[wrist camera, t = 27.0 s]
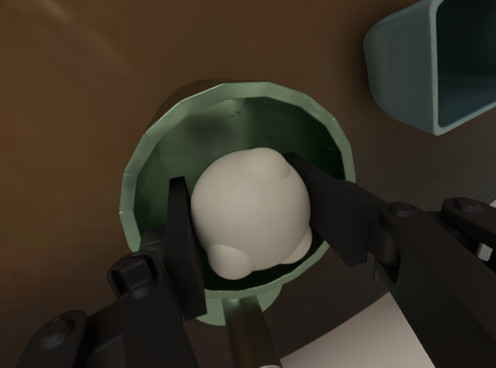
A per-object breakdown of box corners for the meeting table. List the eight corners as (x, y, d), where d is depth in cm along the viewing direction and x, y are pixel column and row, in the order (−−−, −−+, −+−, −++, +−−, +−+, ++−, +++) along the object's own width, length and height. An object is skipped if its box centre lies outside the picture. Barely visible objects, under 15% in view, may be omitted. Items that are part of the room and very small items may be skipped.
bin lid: (164, 270, 27) (155, 384, 17) (263, 223, 28) (311, 305, 18) (208, 330, 32) (222, 444, 22) (290, 290, 33) (338, 381, 23)
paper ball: (166, 172, 13) (159, 233, 8) (256, 117, 13) (306, 142, 8) (222, 243, 16) (243, 323, 11) (296, 197, 16) (353, 254, 11)
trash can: (124, 110, 20) (54, 152, 9) (250, 59, 21) (334, 37, 9) (186, 216, 25) (192, 329, 14) (284, 171, 26) (366, 243, 15)
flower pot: (355, 120, 26) (436, 139, 18) (338, 27, 21) (431, -2, 14) (427, 83, 26) (537, 86, 18) (422, -14, 22) (561, -66, 14)
